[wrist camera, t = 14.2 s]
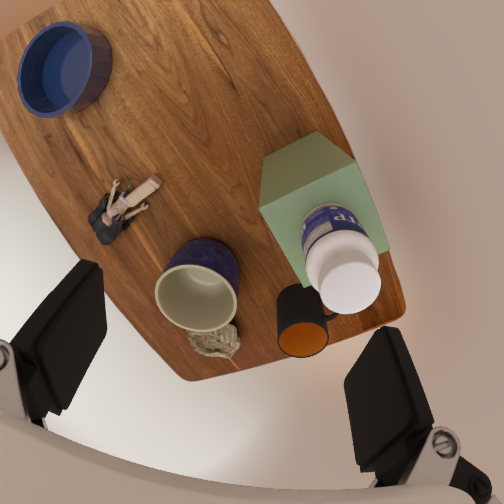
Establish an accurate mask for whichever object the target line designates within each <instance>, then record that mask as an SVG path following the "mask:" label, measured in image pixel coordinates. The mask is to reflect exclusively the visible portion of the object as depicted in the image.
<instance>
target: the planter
mask: <svg viewBox="0 0 504 504" xmlns="http://www.w3.org/2000/svg"><path fill="white" fill-rule="evenodd" d="M238 292H239V267H238V263H237V261H236V258H235V256H234V255H233V253H232V252H231V251H230V250H229V249H228V248H227V247H226V246H224V245H223V244H221V243H219V242H217V241H214V240H210V239H197V240H193V241H190V242H188V243H186V244H185V245H183V246H182V247H181V248H180V249H179V250H178V251H177V252H176V253H175V254H174V256H173V257H172V258H171V260H170V261H169V263H168V264H167V266H166V268H165V269H164V271H163V273H162V274H161V276H160V278H159V279H158V281H157V283H156V287H155V299H156V302H157V305H158V307H159V309H160V310H161V312H162V313H163V314H164V316H165V317H166V318H167V319H169V320H170V321H171V322H172V323H174V324H175V325H177V326H179V327H181V328H184V329H186V330H190V331H195V332H210V331H215V330H218V329H220V328H222V327H224V326H225V325H227V324H228V323H229V322H230V321H231V320H232V319H233V317H234V315H235V313H236V310H237V302H238Z"/></svg>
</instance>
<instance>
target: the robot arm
mask: <svg viewBox="0 0 504 504" xmlns="http://www.w3.org/2000/svg"><path fill="white" fill-rule="evenodd" d="M106 333H107V321H106V310H105V297H104V282H103V270H102V269H101V268H99V265H98V263H96V262H92V261H89V260H85V259H81V260H80V261H79V262H78V263H77V264H76V266H74V267H73V269H72V270H71V271H70V272H69V273H68V274H67V275H66V276H65V277H64V279H63V280H62V281H61V282H60V283H59V284H58V285H57V287H56V288H55V289H54V290H53V291H52V292H51V293H49V294H48V296H47V297H46V298H45V299H44V300H43V302H42V303H41V304H40V305H39V306H38V308H37V309H36V310H35V311H34V313H33V314H32V315H31V316H30V317H29V319H28V320H27V321H26V322H25V324H24V325H23V326H22V328H21V329H20V330H19V332H18V333H17V334H16V336H15V337H14V338H13V339H12V341H11V342H10V343H8V342H6V341H4V340H1V339H0V504H501V503H500V501H499V500H498V499H497V498H496V496H495V495H492V496H491V493H492V486H491V482H490V480H489V478H488V476H487V475H486V474H484V473H483V472H482V471H480V470H479V469H478V468H476V467H475V466H473V465H472V464H471V463H469V462H468V461H467V460H465V459H464V458H463V457H461V456H460V451H461V446H460V441H459V439H458V437H457V435H456V434H455V433H454V432H453V431H452V430H450V429H449V428H447V427H442V426H439V427H435V428H434V429H433V427H432V424H433V423H434V419H433V416H432V413H431V410H430V407H429V404H428V401H427V398H426V396H425V393H424V391H423V388H422V385H421V382H420V380H419V377H418V374H417V372H416V369H415V367H414V364H413V361H412V359H411V356H410V354H409V351H408V349H407V347H406V344H405V342H404V340H403V337H402V335H401V332H400V330H399V329H398V328H395V327H388V326H382V327H381V328H380V329H377V330H376V331H375V332H374V334H373V336H372V337H371V339H370V340H369V342H368V344H367V345H366V347H365V349H364V350H363V352H362V353H361V355H360V356H359V358H358V359H357V361H356V362H355V364H354V366H353V367H352V368H351V370H350V372H349V373H348V374H347V376H346V378H345V381H344V390H345V395H346V401H347V407H348V413H349V419H350V425H351V432H352V438H353V446H354V453H355V460H356V463H357V465H360V470H361V473H363V472H374V471H375V476H376V477H375V479H374V480H373V482H372V483H371V485H370V486H369V488H364V489H346V490H290V489H273V488H260V487H251V486H241V485H234V484H227V483H220V482H214V481H208V480H203V479H197V478H192V477H188V476H183V475H178V474H174V473H170V472H166V471H162V470H158V469H154V468H150V467H147V466H143V465H140V464H136V463H132V462H130V461H126V460H123V459H120V458H117V457H114V456H111V455H109V454H106V453H103V452H100V451H97V450H95V449H92V448H89V447H87V446H84V445H82V444H79V443H76V442H74V441H72V440H69V439H67V438H65V437H62V436H60V435H58V434H55V433H53V432H51V431H49V430H48V428H47V425H46V421H45V417H46V415H47V413H48V411H50V412H52V413H54V414H56V415H58V416H60V414H61V412H62V410H63V409H64V410H66V409H67V408H68V407H69V405H70V403H71V401H72V399H73V397H74V395H75V393H76V391H77V389H78V387H79V385H80V383H81V381H82V379H83V377H84V375H85V373H86V371H87V369H88V367H89V366H90V363H91V362H92V360H93V358H94V356H95V354H96V352H97V351H98V349H99V347H100V345H101V343H102V341H103V340H104V338H105V336H106Z"/></svg>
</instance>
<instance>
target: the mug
mask: <svg viewBox="0 0 504 504" xmlns="http://www.w3.org/2000/svg"><path fill="white" fill-rule="evenodd" d="M338 314H339V313H336V312H334V313H333V314H332V315H329V316H327V315H325V314H324V309H323V305H322V299H321V296H320V294H319V292H318V291H317V290H316V289H315V288H313V287H312V286H308V287H305V288H304V287H303V285H302V284H296V285H292V286H289V287H287V288H286V289H284V290H283V291H282V292H281V293H280V295H279V297H278V299H277V331H278V346H279V348H280V349H281V351H282V352H284V353H285V354H287V355H289V356H291V357H296V358H305V357H310V356H313V355H316V354H317V353H319V352H321V351H322V350H323V349H324V348H325V347H326V345H327V344H328V341H329V335H328V329H327V324H326V322H327V321H329V320H332V319H334V318H335V317H337V316H338Z"/></svg>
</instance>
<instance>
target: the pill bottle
mask: <svg viewBox="0 0 504 504" xmlns="http://www.w3.org/2000/svg"><path fill="white" fill-rule="evenodd" d="M300 240H301V245H302V250H303V256H304V262H305V268H306V273H307V276H308V279H309V281H310V283H311V284H312V286H313V287H314V288H315V289H316V290H317V291H318V292H319V293H320V296H321V299H322V302H323V303H324V304H325V306H326V307H327V308H329V309H330V310H332V311H334V312H336V313H340V314H352V313H356V312H359V311H361V310H363V309H365V308H367V307H368V306H369V305H371V304H372V303H373V301H374V300H375V299H376V297H377V296H378V294H379V291H380V287H381V279H380V276H379V273H378V271H377V270H378V264H379V262H378V254H377V251H376V249H375V247H374V245H373V243H372V241H371V240H370V238H369V236H368V235H367V233H366V231H365V230H364V228H363V227H362V225H361V224H360V222H359V220H358V219H357V217H356V216H355V214H354V213H353V212H352V211H351V210H350V209H348V208H347V207H345V206H343V205H340V204H335V203H328V204H323V205H320V206H318V207H316V208H314V209H312V210H311V211H310V212H309V213H308V214H307V215H306V216H305V218H304V220H303V222H302V224H301V228H300Z"/></svg>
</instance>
